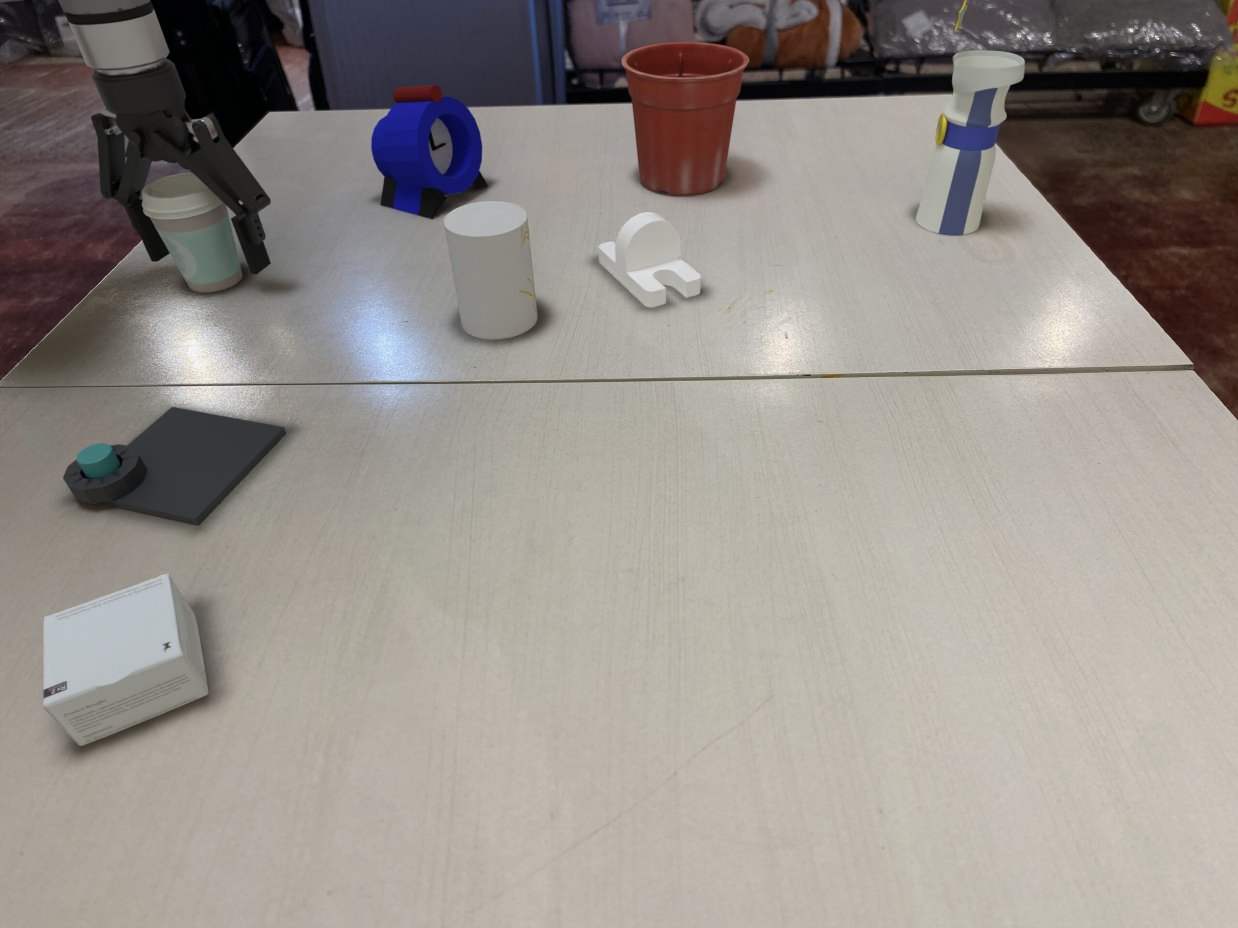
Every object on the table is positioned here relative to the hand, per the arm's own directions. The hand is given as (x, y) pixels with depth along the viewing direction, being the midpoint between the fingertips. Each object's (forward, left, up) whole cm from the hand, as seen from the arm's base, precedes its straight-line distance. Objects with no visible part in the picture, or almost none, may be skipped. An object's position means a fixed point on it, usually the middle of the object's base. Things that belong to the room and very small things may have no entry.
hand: (211, 262), depth 93 cm
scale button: (+15, -33, 0) cm, 36 cm away
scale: (+19, -29, -3) cm, 35 cm away
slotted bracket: (+49, +13, -3) cm, 51 cm away
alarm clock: (+13, +30, -3) cm, 33 cm away
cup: (+36, 0, -3) cm, 36 cm away
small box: (+30, -48, -3) cm, 57 cm away
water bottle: (+82, +37, -3) cm, 90 cm away
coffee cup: (0, 0, -3) cm, 3 cm away
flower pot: (+46, +43, -3) cm, 63 cm away
